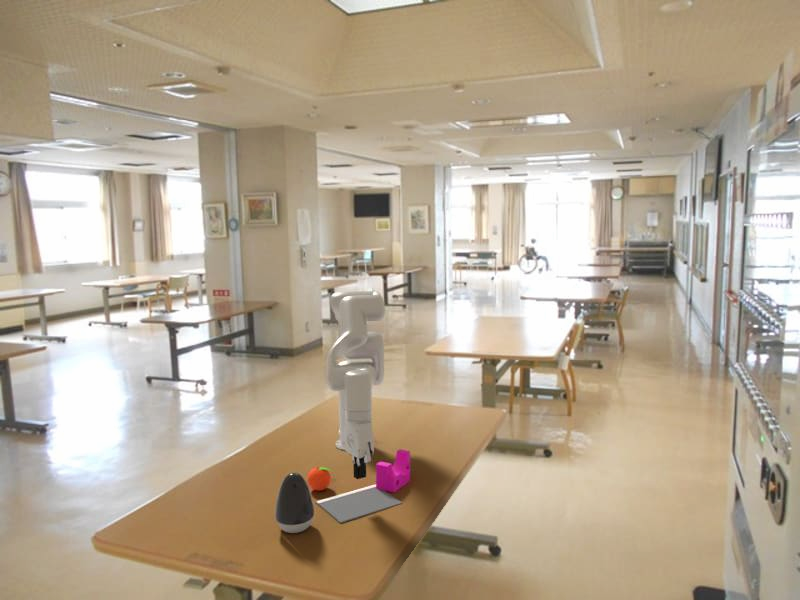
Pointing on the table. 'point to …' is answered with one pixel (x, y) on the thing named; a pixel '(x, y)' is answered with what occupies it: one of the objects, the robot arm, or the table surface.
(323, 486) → the clementine
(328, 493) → the table surface
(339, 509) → the mat
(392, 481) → the toy block
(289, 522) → the dark grey rounded cone
